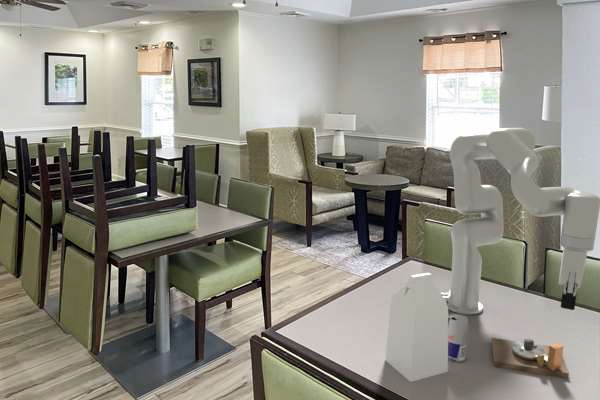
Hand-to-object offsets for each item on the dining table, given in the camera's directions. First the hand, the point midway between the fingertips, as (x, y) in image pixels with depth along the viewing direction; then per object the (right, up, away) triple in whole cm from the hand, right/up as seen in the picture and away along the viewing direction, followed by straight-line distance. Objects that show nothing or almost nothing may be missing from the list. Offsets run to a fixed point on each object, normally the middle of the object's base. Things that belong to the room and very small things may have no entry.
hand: (567, 307), depth 127 cm
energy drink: (-27, -16, +8) cm, 32 cm away
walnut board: (-7, -16, +7) cm, 19 cm away
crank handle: (-6, -15, +5) cm, 17 cm away
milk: (-39, -17, +4) cm, 43 cm away
